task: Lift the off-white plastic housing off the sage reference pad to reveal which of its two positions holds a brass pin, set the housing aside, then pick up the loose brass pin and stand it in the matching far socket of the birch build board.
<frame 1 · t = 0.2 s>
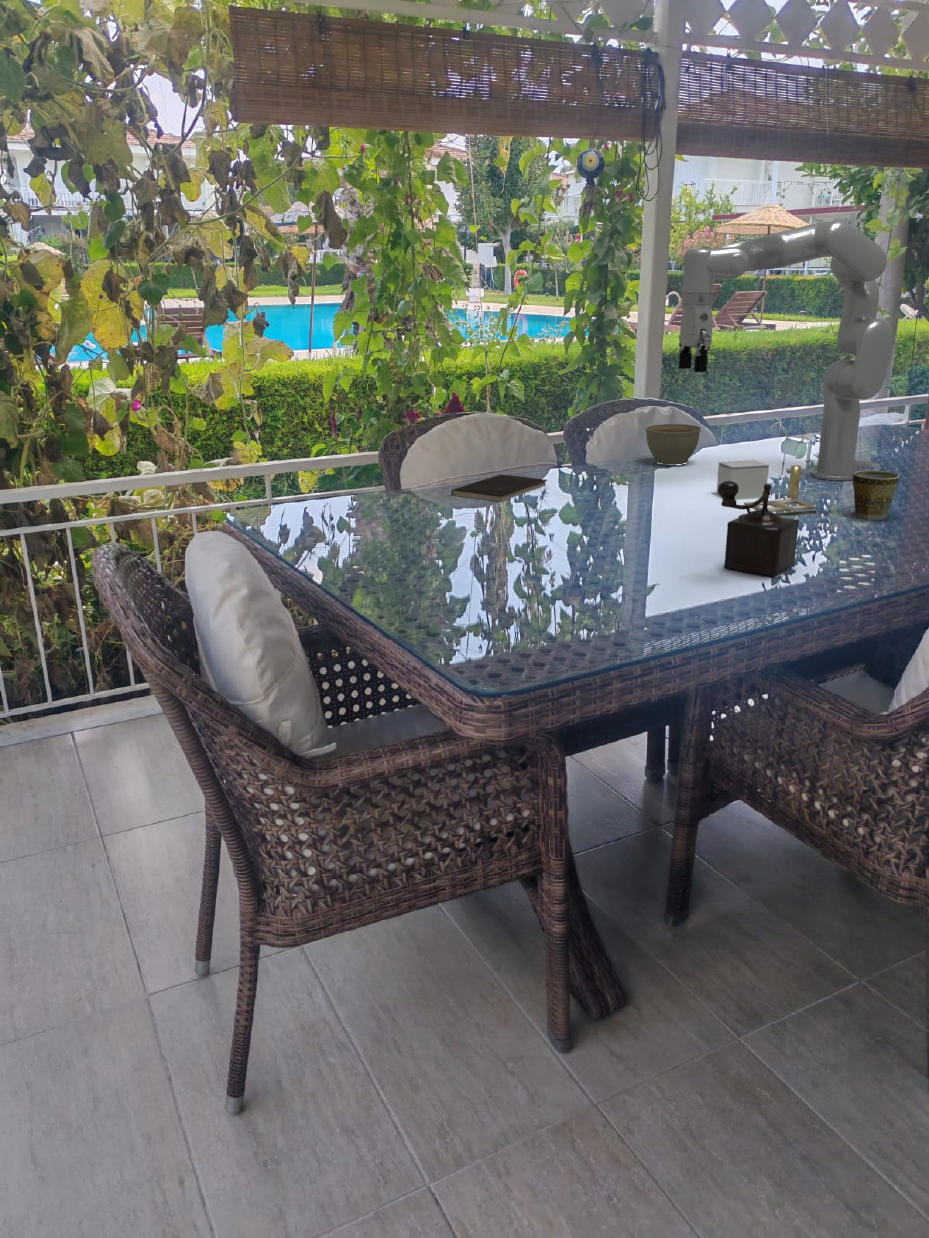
hand: (692, 370, 244), 31 cm above the table, tool pointing down, fingers open, 9 cm apart
reference pad: (740, 499, 239), on the table
build board: (779, 511, 227), on the table
ceramic cup: (869, 516, 221), on the table
planter bowl: (671, 464, 287), on the table
manual coffee grinder: (751, 570, 183), on the table
hardcover book: (500, 493, 256), on the table
housing: (741, 495, 239), point 1 cm above the table, touching reference pad
brass pin: (792, 502, 236), on the table
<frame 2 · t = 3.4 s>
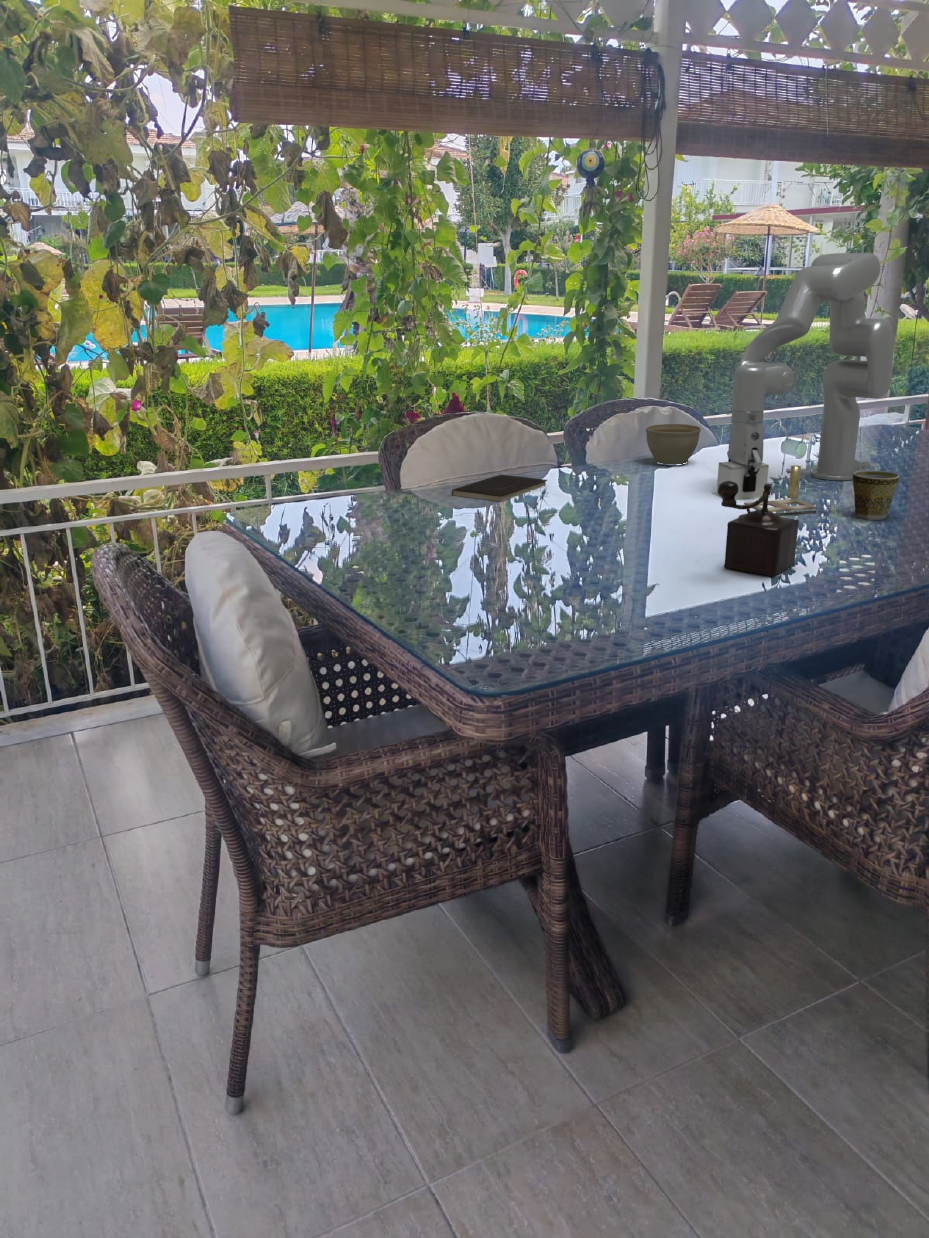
hand: (741, 488, 238), 3 cm above the table, tool pointing down, fingers closed on housing, 7 cm apart
housing: (741, 495, 239), point 1 cm above the table, touching gripper, reference pad
everything else where it was.
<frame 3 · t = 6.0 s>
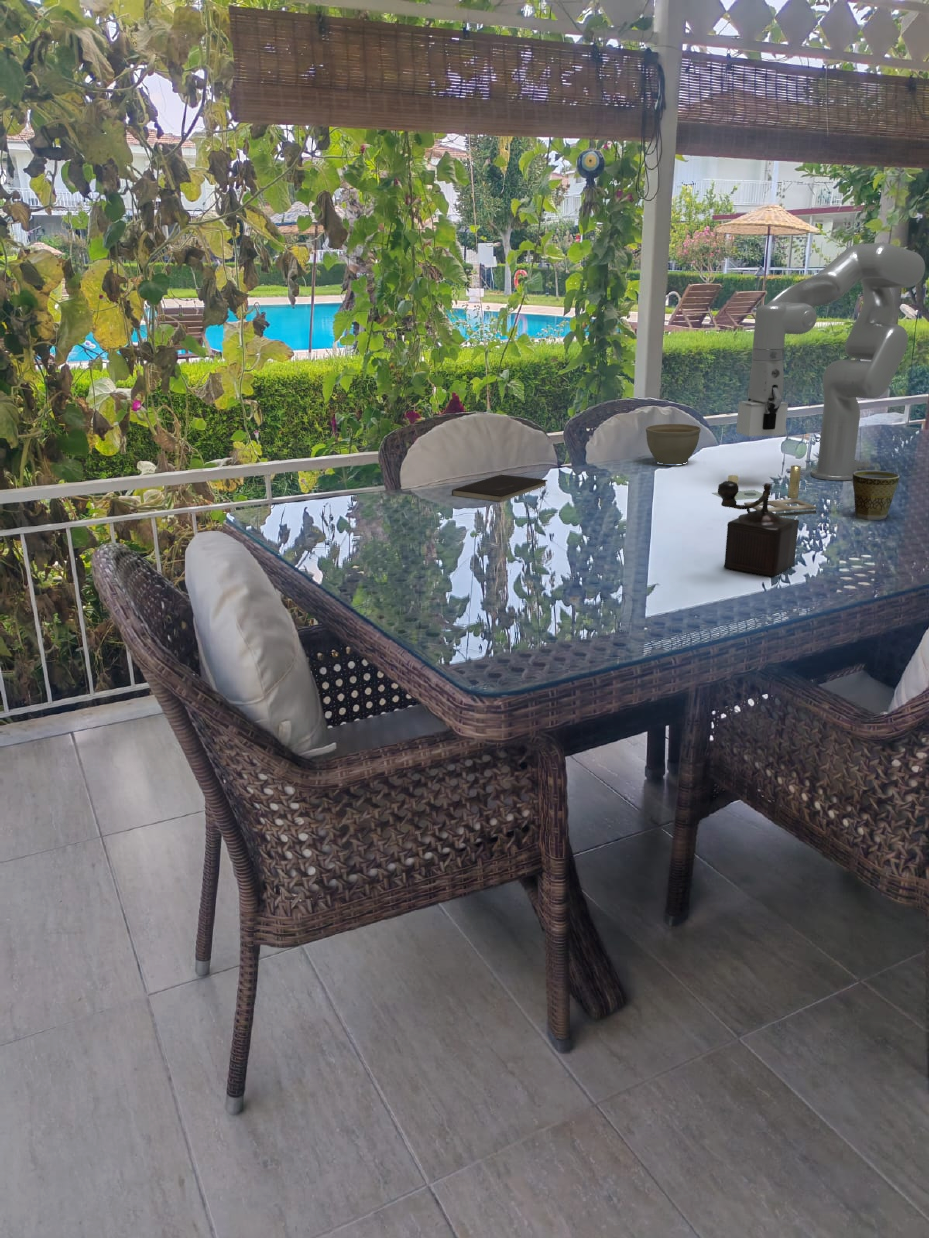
hand: (761, 426, 243), 17 cm above the table, tool pointing down, fingers closed on housing, 7 cm apart
housing: (760, 433, 244), point 15 cm above the table, touching gripper
everything else where it was.
when the fingers open (3 cm above the table, at t = 8.9 s): housing drops 1 cm, on the table.
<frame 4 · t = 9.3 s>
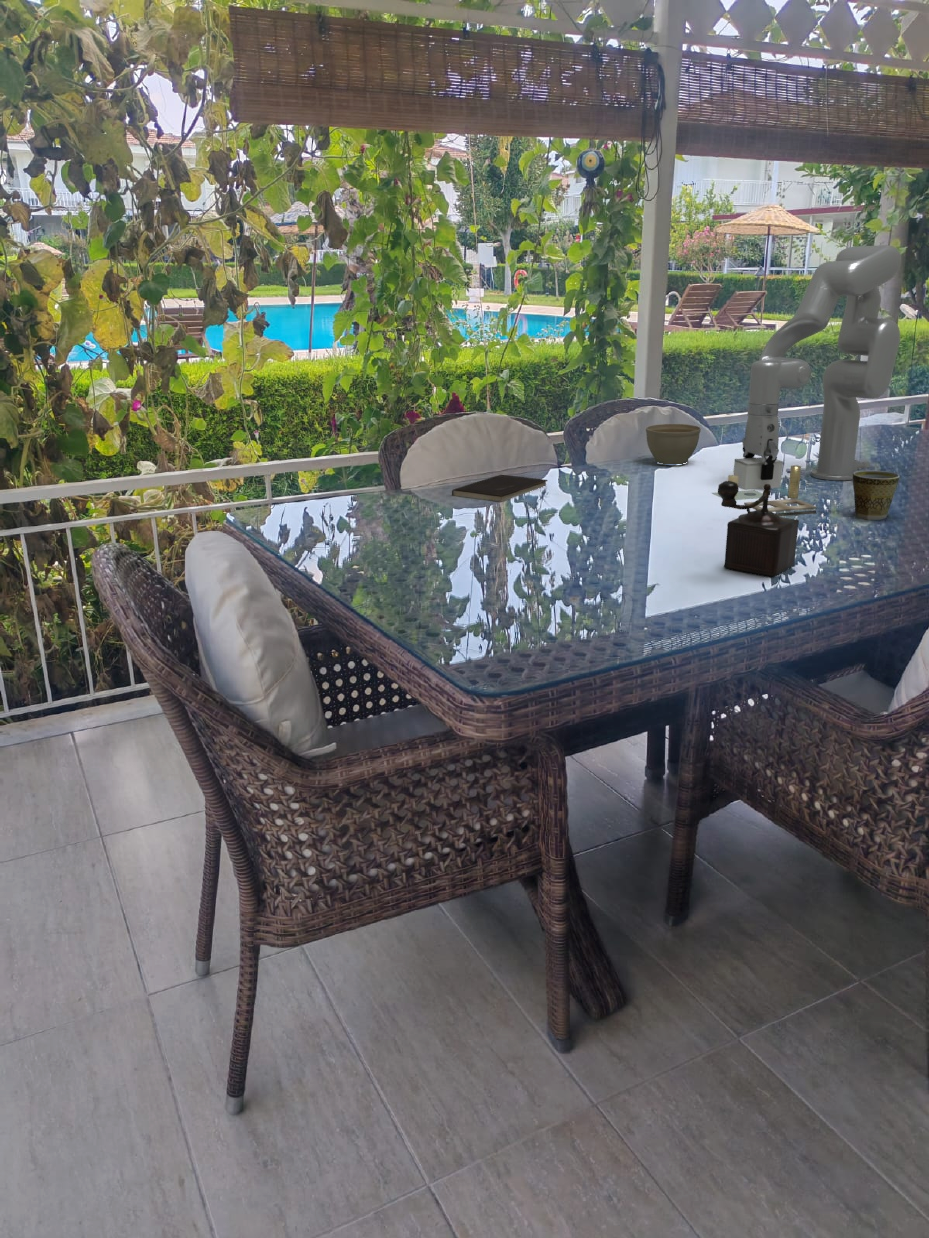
hand: (757, 476, 248), 4 cm above the table, tool pointing down, fingers open, 9 cm apart
housing: (756, 490, 249), on the table
everything else where it was.
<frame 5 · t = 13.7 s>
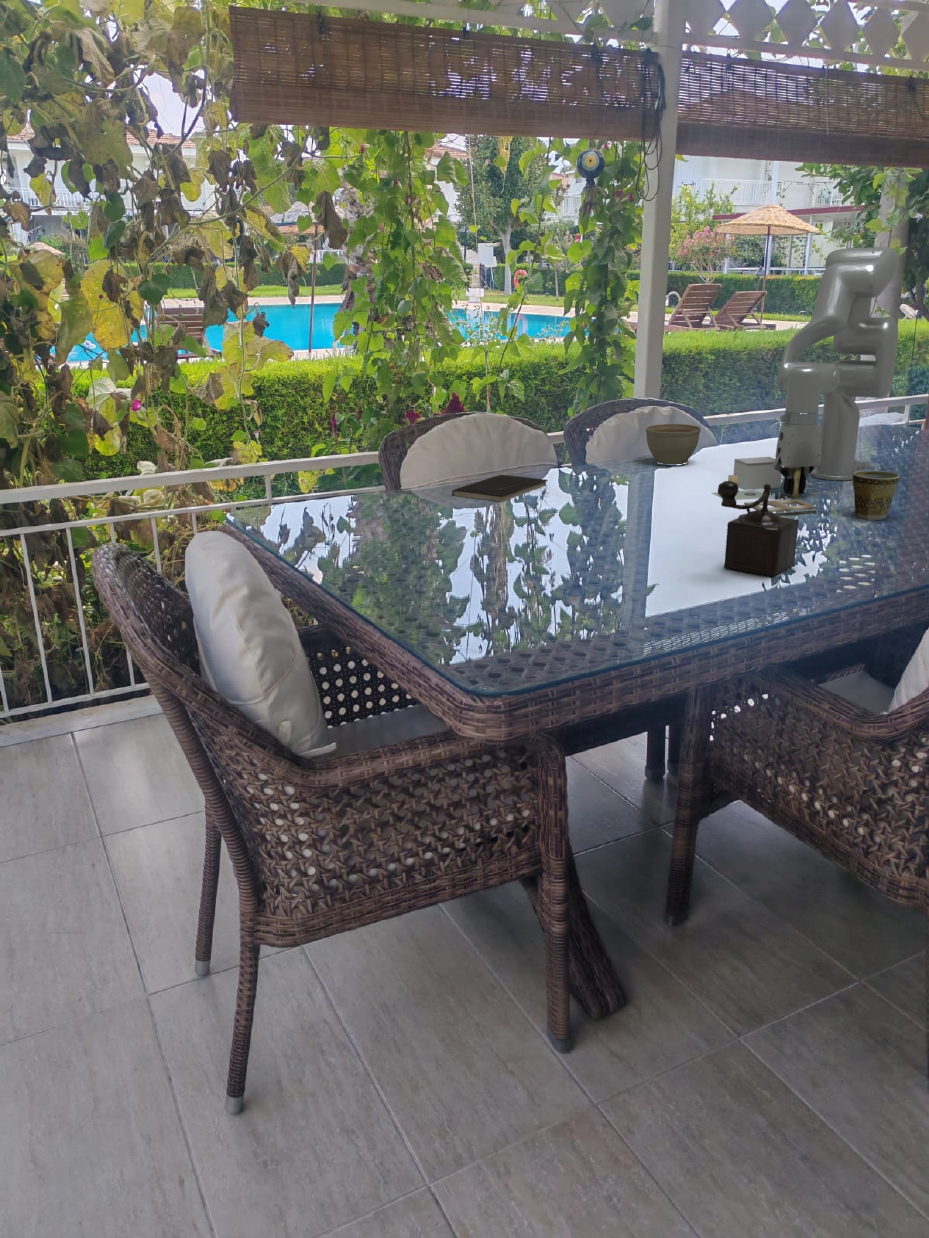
hand: (794, 492, 235), 2 cm above the table, tool pointing down, fingers closed on brass pin, 2 cm apart
brass pin: (793, 499, 236), point 1 cm above the table, touching gripper
everything else where it was.
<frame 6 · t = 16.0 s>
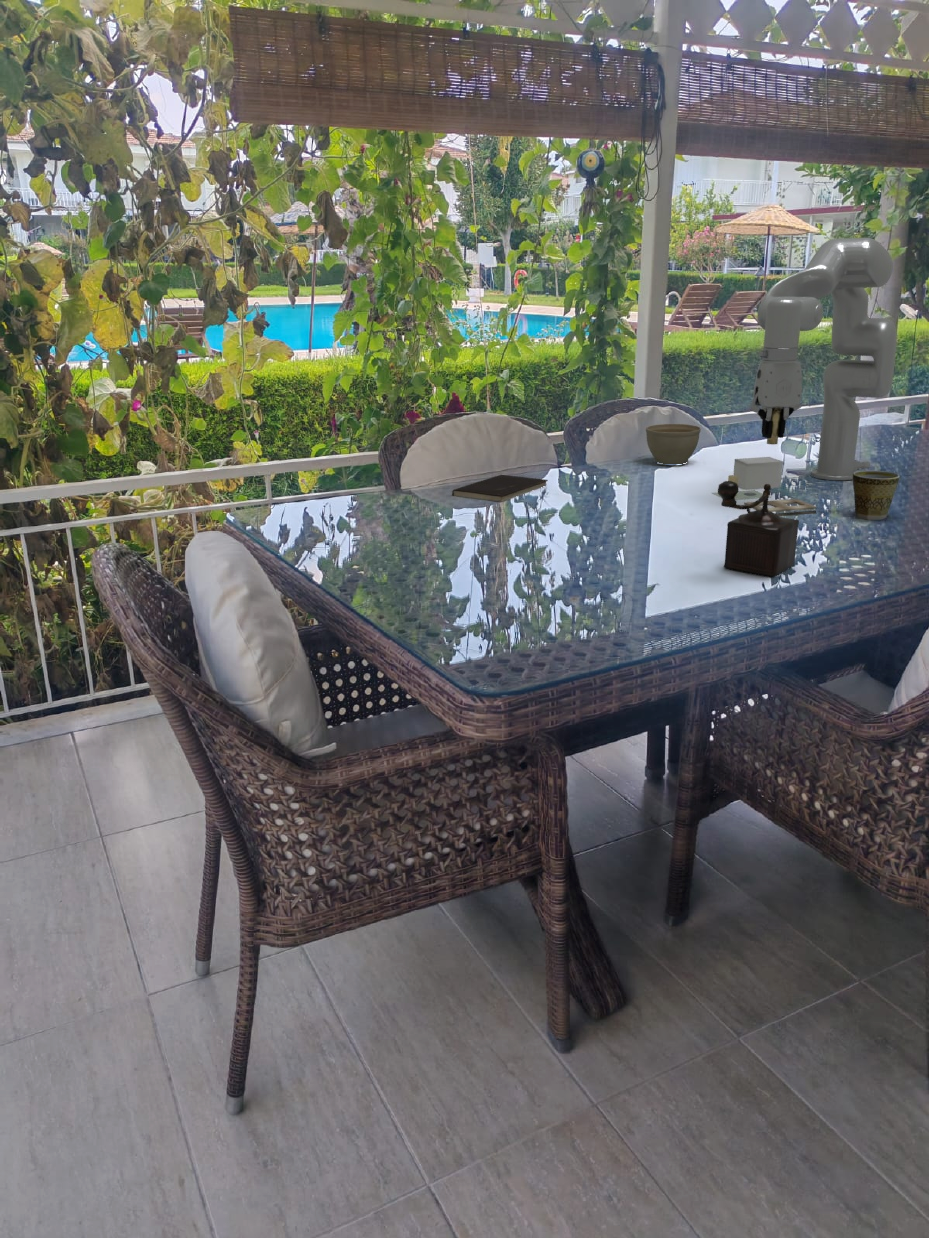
hand: (772, 436, 220), 18 cm above the table, tool pointing down, fingers closed on brass pin
brass pin: (772, 443, 221), point 16 cm above the table, touching gripper
everything else where it was.
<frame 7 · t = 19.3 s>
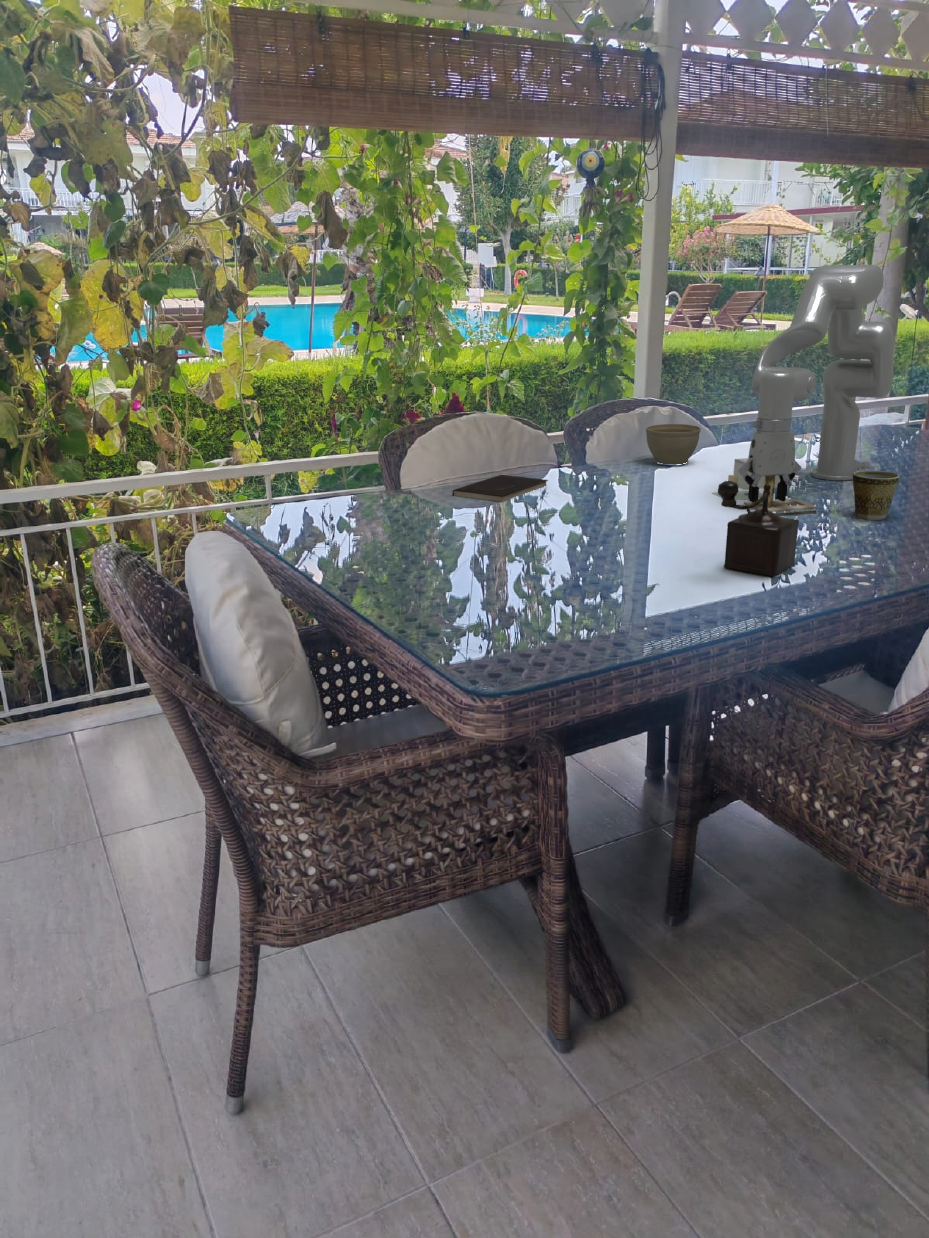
hand: (767, 500, 225), 3 cm above the table, tool pointing down, fingers open, 6 cm apart
brass pin: (766, 512, 226), resting in build board
everything else where it was.
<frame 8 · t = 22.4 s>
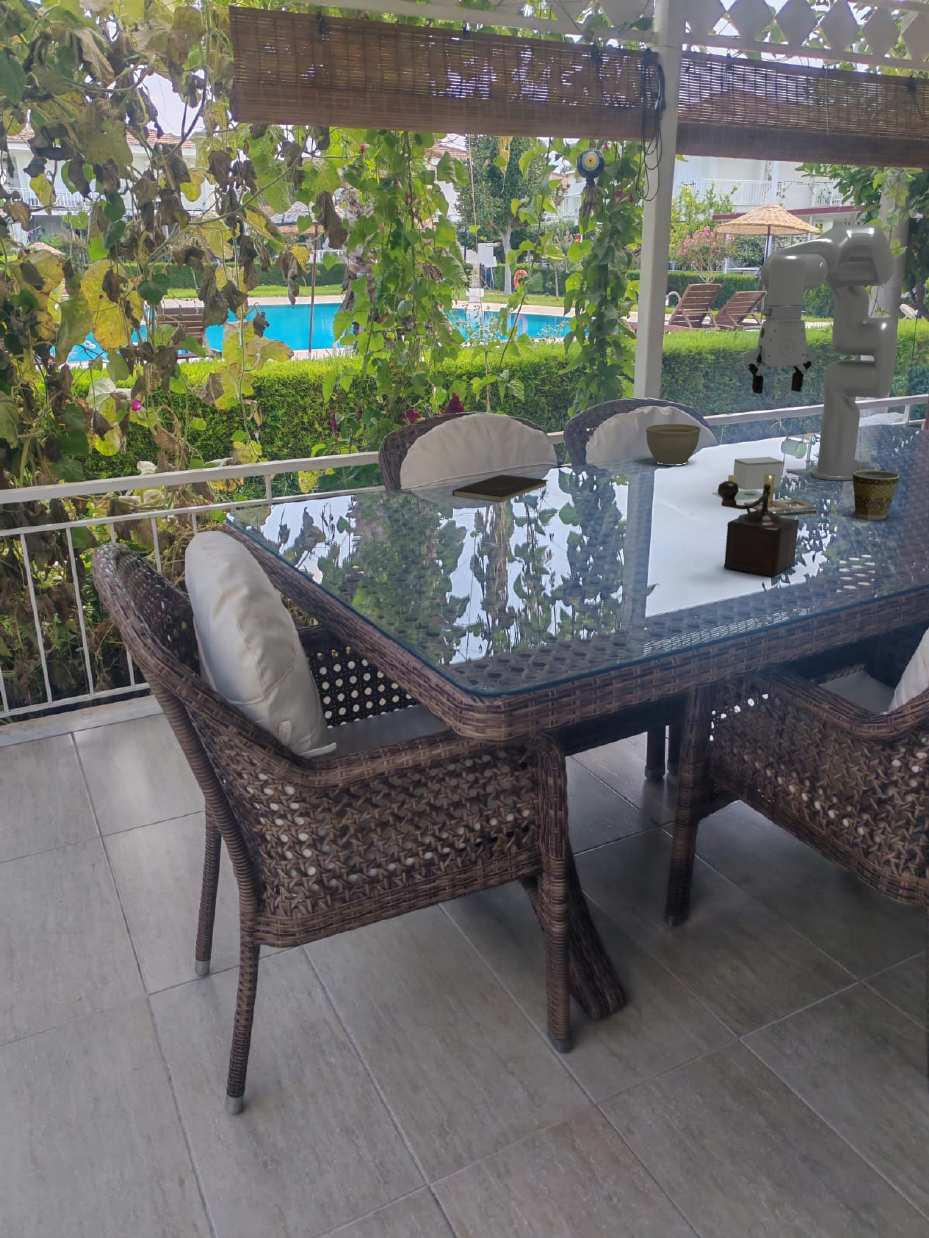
hand: (776, 392, 217), 28 cm above the table, tool pointing down, fingers open, 9 cm apart
nothing on the table moved.
at the end: brass pin 0.1 cm from the target spot on the build board, point 0.0 cm above the build board's base; brass pin tilted 0°; housing moved 12.7 cm from its start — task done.
